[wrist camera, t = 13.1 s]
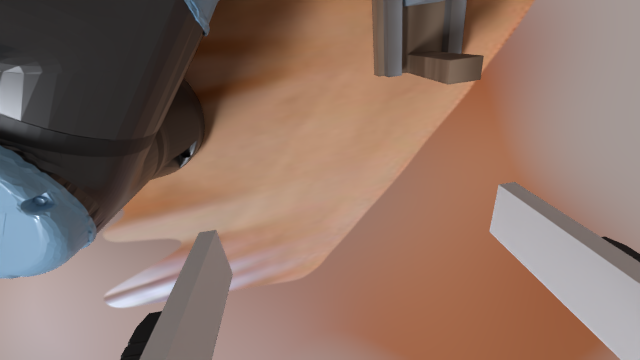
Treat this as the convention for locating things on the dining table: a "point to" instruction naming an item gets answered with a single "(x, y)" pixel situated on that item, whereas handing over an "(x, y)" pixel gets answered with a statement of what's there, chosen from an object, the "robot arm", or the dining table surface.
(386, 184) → the dining table surface
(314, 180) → the dining table surface
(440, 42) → the grey u-shaped frame
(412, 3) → the grey square slab
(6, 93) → the robot arm
